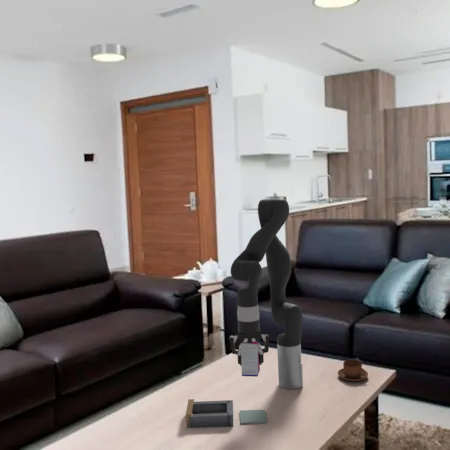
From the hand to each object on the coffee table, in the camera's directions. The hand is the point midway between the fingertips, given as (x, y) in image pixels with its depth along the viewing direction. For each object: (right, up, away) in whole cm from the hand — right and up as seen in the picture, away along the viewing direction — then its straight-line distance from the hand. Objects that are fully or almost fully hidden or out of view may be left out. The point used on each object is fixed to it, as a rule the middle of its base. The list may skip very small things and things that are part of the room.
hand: (250, 364), depth 182 cm
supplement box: (0, -3, 0) cm, 3 cm away
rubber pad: (+1, -19, +2) cm, 19 cm away
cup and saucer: (+43, -14, +32) cm, 56 cm away
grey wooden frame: (-14, -20, +2) cm, 25 cm away
